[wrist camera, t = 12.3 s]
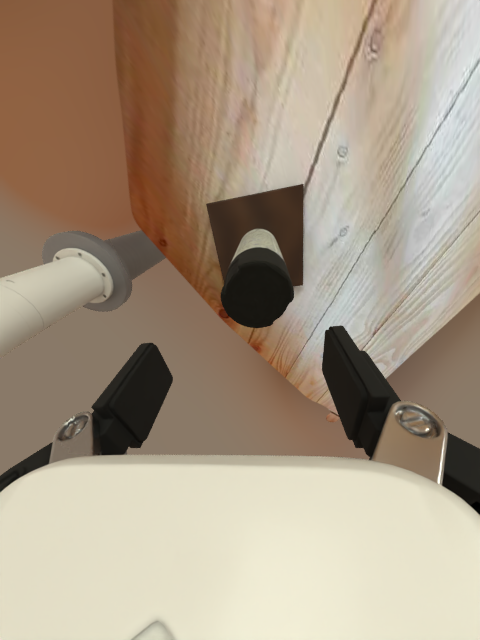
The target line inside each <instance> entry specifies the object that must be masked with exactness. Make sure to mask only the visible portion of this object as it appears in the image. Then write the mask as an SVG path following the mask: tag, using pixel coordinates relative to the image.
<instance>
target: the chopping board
mask: <svg viewBox="0 0 480 640" xmlns="http://www.w3.org/2000/svg"><path fill="white" fill-rule="evenodd" d="M206 205H207V209H208V214H209V218H210V223H211V227H212V231H213V236H214V240H215V245H216V249H217V254H218V258H219V262H220V267H221V271H222V276H223V280H224V283H225V279H226V274H227V272H228V269H229V266H230V264H231V262H232V259H233V257H234V255H235V253H236V251H237V248H238V246H239V244H240V242H241V240H242V238H243V237H244V236H245V234H247V233H248V232H249V231H251V230H254V229H264V230H267V231H268V232H270V233H271V234H272V235H273V236H274V237H275V239H276V241H277V244H278V246H279V249H280V251H281V254H282V257H283V259H284V262H285V264H286V266H287V270H288V273H289V276H290V279H291V282H292V285H293V286H300V285H303V184H301V185H296V186H291V187H287V188H282V189H277V190H272V191H267V192H262V193H257V194H252V195H247V196H243V197H238V198H233V199H228V200H223V201H218V202H213V203H208V204H206Z"/></svg>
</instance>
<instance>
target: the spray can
mask: <svg viewBox="0 0 480 640" xmlns="http://www.w3.org/2000/svg"><path fill="white" fill-rule="evenodd" d="M293 298H294V290H293V285H292V282H291V279H290V276H289V273H288V270H287V266H286V264H285V262H284V259H283V257H282V254H281V251H280V249H279V246H278V244H277V241H276V239H275V237H274V236H273V235H272V234H271V233H270V232H268V231H267V230H264V229H254V230H251V231H249V232H248V233H247V234H245V236H244V237H243V238H242V240H241V242H240V244H239V246H238V248H237V251H236V253H235V255H234V257H233V259H232V262H231V264H230V266H229V269H228V272H227V274H226V279H225V283H224V286H223V289H222V292H221V301H222V305H223V307H224V309H225V311H226V313H227V314H228V316H229V317H231V318H232V319H233V320H234V321H236V322H237V323H239V324H241V325H244V326H247V327H251V328H262V327H267V326H270V325H272V324H273V321H275V320H276V319H277V318H279V317H280V316H281V315H282V314H283V313H284V311H285V310H286V308H287V306H288V304H289V303H290V302H292V300H293Z"/></svg>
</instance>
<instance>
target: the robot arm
mask: <svg viewBox="0 0 480 640" xmlns="http://www.w3.org/2000/svg"><path fill="white" fill-rule="evenodd" d="M113 288H114V286H113V280H112V277H111V275H110V273H109V271H108V270H107V268H106V267H105V266H104V265H103V264H102V262H101V261H99V260H98V259H97V258H96V257H95V256H93V255H92V254H90V253H88V252H86V251H84V250H81V249H77V248H66V249H62V250H60V251H58V252H57V253H56V254H55V256H54V258H53V262H50V263H47V264H44V265H41V266H38V267H35V268H32V269H28V270H25V271H22V272H19V273H16V274H13V275H9V276H6V277H3V278H0V359H1V358H2V357H3V356H5V355H6V354H7V353H9V352H10V351H12V350H13V349H15V348H16V347H18V346H19V345H21V344H22V343H24V342H25V341H27V340H29V339H30V338H32V337H33V336H35V335H37V334H38V333H40V332H41V331H43V330H45V329H46V328H48V327H50V326H51V325H53V324H54V323H56V322H57V321H59V320H61V319H62V318H64V317H66V316H67V315H69V314H70V313H72V312H74V311H75V310H77V309H79V308H80V307H82V306H83V305H85V304H87V303H88V302H90V303H101V302H104V301H105V300H107V299H108V298H110V296H111V295H112V293H113ZM322 371H323V375H324V377H325V380H326V383H327V385H328V388H329V391H330V393H331V396H332V398H333V401H334V404H335V406H336V409H337V412H338V414H339V417H340V419H341V422H342V425H343V427H344V430H345V433H346V435H347V437H348V439H349V440H353V442H354V445H355V447H356V448H364V450H365V452H366V454H367V455H368V456H369V457H370V458H369V460H365V459H357V458H343V457H318V456H262V455H261V456H260V455H253V456H251V455H127V449H128V447H130V448H140V447H141V445H142V443H143V441H145V440H146V439H147V437H148V435H149V432H150V430H151V428H152V426H153V423H154V421H155V419H156V417H157V415H158V413H159V410H160V408H161V406H162V404H163V401H164V399H165V397H166V395H167V393H168V390H169V388H170V386H171V384H172V381H173V377H172V375H171V373H170V371H169V369H168V367H167V365H166V363H165V361H164V359H163V357H162V355H161V353H160V351H159V350H158V348H157V346H156V345H154V344H153V343H144V344H141V345H140V346H139V347H138V348H137V350H136V351H135V352H134V353H133V355H132V356H131V357H130V359H129V360H128V361H127V363H126V364H125V365H124V366H123V367H122V369H121V370H120V371H119V373H118V374H117V375H116V377H115V378H114V379H113V380H112V381H111V383H110V384H109V385H108V387H107V388H106V389H105V390H104V392H103V393H102V394H101V396H100V397H99V398H98V399H97V401H96V402H95V403H94V404H93V406H92V408H93V409H94V412H93V413H92V414H91V413H90V412H81V413H78V414H76V415H74V416H73V417H71V418H69V419H68V420H67V421H66V422H65V423H63V424H62V425H61V427H60V428H59V429H58V430H57V432H56V433H55V436H54V439H53V442H52V443H50V444H49V445H47V446H46V447H44V448H42V449H41V450H39V451H37V452H36V453H34V454H33V455H31V456H30V457H28V458H27V459H25V460H23V461H21V462H20V463H18V464H17V465H15V466H13V467H12V468H10V469H9V470H8V471H6V472H5V473H3V474H2V475H1V476H0V640H480V449H479V448H477V447H475V446H473V445H471V444H469V443H467V442H465V441H463V440H462V439H459V438H458V437H456V436H454V435H452V434H450V433H448V432H447V428H446V426H445V424H444V422H443V421H442V420H441V419H440V418H439V417H438V416H437V415H436V414H435V413H434V412H432V411H431V410H430V409H428V408H426V407H424V406H422V405H420V404H417V403H414V402H409V401H401V400H400V399H399V397H398V396H397V395H396V393H395V392H394V390H393V389H392V387H391V386H390V385H389V383H388V382H387V380H386V379H385V378H384V376H383V375H382V373H381V372H380V371H379V369H378V368H377V366H376V365H375V364H374V362H373V361H372V359H371V358H370V357H369V355H368V354H367V353H366V352H365V351H360V350H359V349H358V348H357V346H356V345H355V343H354V342H353V340H352V339H351V337H350V336H349V334H348V333H347V331H346V330H345V328H344V327H343V326H333V327H330V328H329V330H326V331H325V341H324V352H323V363H322Z"/></svg>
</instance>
